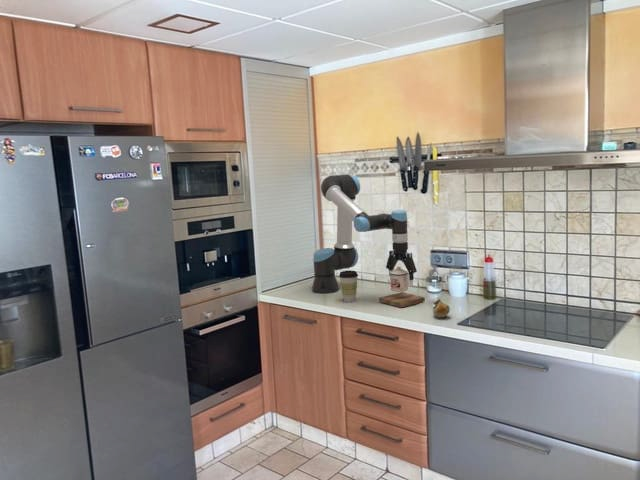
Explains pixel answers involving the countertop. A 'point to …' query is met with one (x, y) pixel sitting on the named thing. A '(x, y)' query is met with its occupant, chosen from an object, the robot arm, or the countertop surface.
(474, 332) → the countertop surface
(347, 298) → the coffee cup
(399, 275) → the teacup with lid
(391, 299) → the walnut board
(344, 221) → the robot arm
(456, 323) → the countertop surface
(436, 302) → the onion
